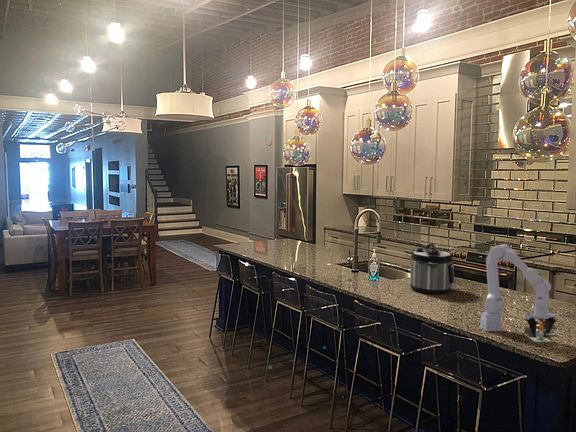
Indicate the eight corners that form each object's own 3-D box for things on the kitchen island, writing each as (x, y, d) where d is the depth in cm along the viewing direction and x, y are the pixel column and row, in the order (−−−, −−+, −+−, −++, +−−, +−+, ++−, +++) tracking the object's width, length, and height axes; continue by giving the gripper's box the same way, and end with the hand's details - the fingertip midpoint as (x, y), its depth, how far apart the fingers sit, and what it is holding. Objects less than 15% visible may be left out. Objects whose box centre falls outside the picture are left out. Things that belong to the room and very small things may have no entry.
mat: (534, 342, 227) (534, 341, 227) (528, 338, 232) (528, 337, 232) (550, 341, 228) (551, 341, 228) (544, 338, 233) (544, 337, 233)
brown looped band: (536, 321, 260) (545, 310, 256) (545, 334, 252) (554, 323, 248) (517, 317, 258) (526, 306, 254) (526, 330, 250) (535, 318, 246)
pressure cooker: (438, 298, 305) (440, 248, 302) (400, 290, 325) (401, 243, 322) (461, 289, 326) (462, 243, 322) (423, 282, 346) (425, 239, 343)
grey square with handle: (532, 337, 234) (532, 331, 233) (524, 332, 240) (524, 327, 240) (557, 337, 235) (558, 331, 234) (549, 332, 242) (549, 326, 241)
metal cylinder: (534, 338, 232) (535, 324, 231) (540, 337, 232) (541, 323, 232) (538, 340, 229) (539, 326, 228) (544, 340, 229) (545, 326, 228)
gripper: (532, 308, 224) (530, 336, 225) (561, 307, 225) (559, 335, 226) (523, 304, 231) (522, 331, 232) (552, 303, 232) (550, 330, 233)
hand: (540, 333), depth 230 cm, fingers open, 7 cm apart
